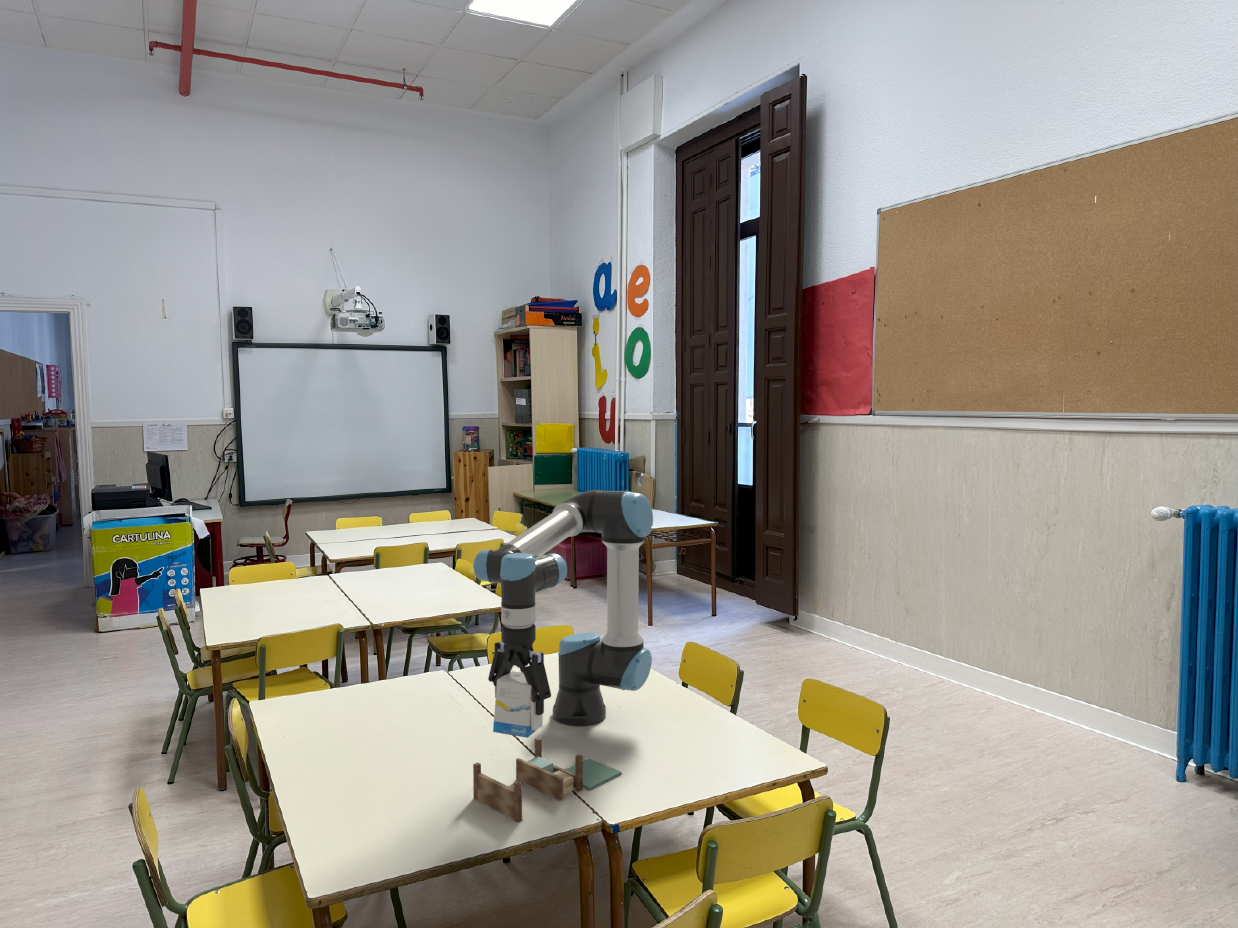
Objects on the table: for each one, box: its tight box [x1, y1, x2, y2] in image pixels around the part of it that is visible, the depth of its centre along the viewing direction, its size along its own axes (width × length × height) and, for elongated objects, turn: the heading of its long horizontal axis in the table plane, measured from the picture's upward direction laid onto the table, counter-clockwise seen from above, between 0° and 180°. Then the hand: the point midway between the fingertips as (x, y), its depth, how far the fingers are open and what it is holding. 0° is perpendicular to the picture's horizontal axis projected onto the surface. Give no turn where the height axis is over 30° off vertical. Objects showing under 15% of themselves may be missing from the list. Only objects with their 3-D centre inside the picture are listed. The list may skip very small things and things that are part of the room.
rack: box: [472, 737, 584, 823], centre depth 182 cm, size 15×20×8 cm
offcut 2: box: [553, 771, 575, 796], centre depth 184 cm, size 5×4×3 cm
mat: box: [564, 758, 623, 791], centre depth 192 cm, size 11×11×1 cm
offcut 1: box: [526, 757, 554, 773], centre depth 189 cm, size 5×4×2 cm
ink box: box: [492, 670, 538, 739], centre depth 179 cm, size 9×8×12 cm
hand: (519, 720), depth 179 cm, fingers closed on ink box, 11 cm apart
